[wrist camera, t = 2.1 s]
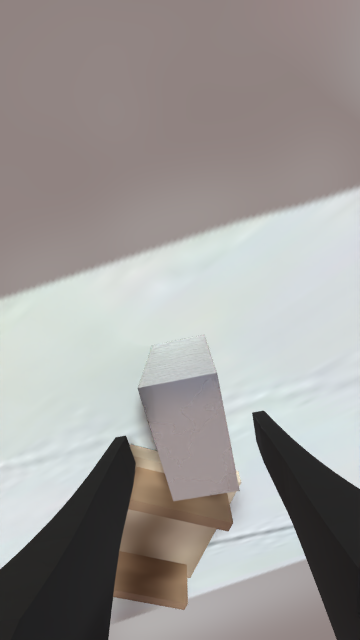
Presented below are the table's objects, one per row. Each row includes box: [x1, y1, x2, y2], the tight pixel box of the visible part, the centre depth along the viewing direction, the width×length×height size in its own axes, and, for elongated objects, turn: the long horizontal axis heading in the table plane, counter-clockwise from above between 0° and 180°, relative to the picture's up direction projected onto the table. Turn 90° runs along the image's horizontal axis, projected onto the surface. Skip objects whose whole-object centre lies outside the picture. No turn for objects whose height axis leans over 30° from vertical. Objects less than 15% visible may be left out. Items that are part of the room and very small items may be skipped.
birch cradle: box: [113, 445, 241, 610], centre depth 19 cm, size 10×14×4 cm
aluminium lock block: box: [138, 335, 240, 501], centre depth 14 cm, size 4×8×6 cm, turn 12°
